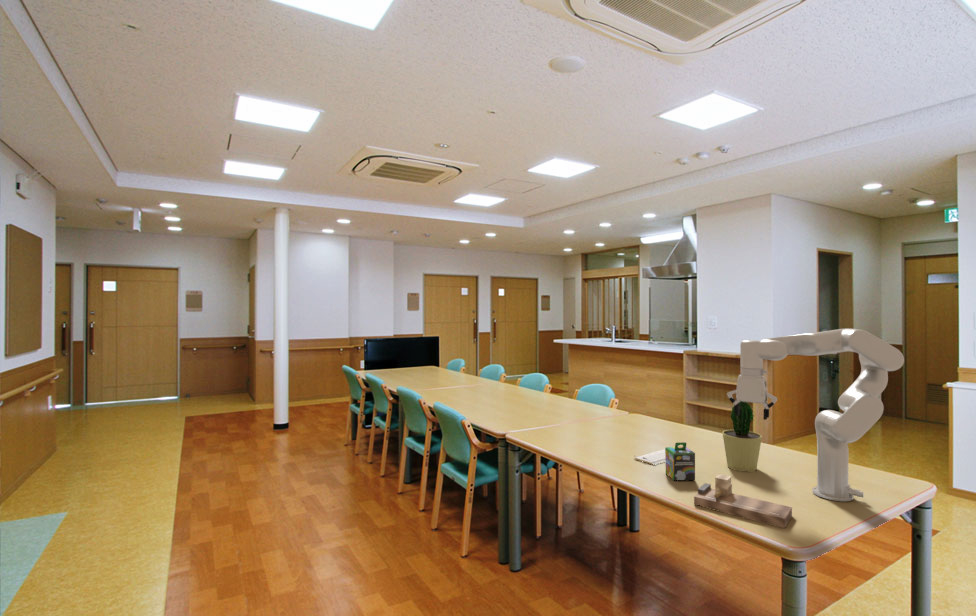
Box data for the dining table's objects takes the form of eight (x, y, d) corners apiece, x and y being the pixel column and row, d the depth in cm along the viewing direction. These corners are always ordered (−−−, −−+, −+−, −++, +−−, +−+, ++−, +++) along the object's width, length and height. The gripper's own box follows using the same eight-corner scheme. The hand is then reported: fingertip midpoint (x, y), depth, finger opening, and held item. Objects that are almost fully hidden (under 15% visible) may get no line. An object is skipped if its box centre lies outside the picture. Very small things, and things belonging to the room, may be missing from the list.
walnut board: (791, 516, 164) (791, 502, 164) (784, 528, 155) (784, 514, 155) (705, 495, 183) (705, 483, 183) (694, 504, 174) (694, 492, 174)
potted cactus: (717, 467, 213) (717, 399, 213) (728, 459, 225) (728, 394, 225) (756, 476, 203) (756, 404, 203) (765, 467, 214) (766, 399, 214)
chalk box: (686, 473, 206) (686, 438, 206) (696, 481, 197) (696, 444, 197) (664, 473, 206) (664, 438, 206) (673, 481, 197) (673, 445, 197)
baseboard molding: (696, 455, 234) (673, 449, 243) (696, 449, 234) (673, 443, 243) (656, 467, 215) (634, 460, 225) (656, 461, 215) (634, 454, 225)
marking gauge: (731, 497, 178) (732, 475, 178) (722, 507, 169) (722, 484, 169) (720, 494, 180) (720, 473, 180) (710, 504, 171) (710, 482, 171)
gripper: (779, 373, 184) (779, 418, 184) (729, 369, 195) (729, 412, 195) (775, 375, 178) (775, 422, 178) (724, 371, 190) (724, 415, 190)
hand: (751, 417), depth 187 cm, fingers open, 9 cm apart
